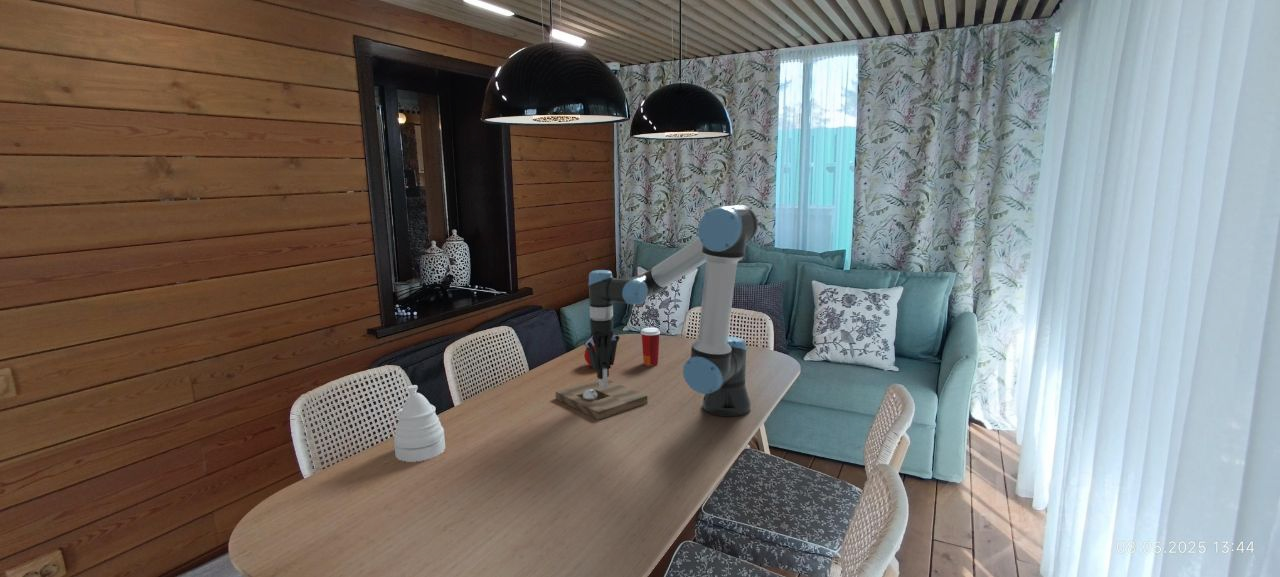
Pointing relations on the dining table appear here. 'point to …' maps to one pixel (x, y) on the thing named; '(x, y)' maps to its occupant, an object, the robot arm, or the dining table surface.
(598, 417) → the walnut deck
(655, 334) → the paper cup
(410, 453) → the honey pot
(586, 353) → the tomato
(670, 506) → the dining table surface
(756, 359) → the dining table surface
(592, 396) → the steel ball
